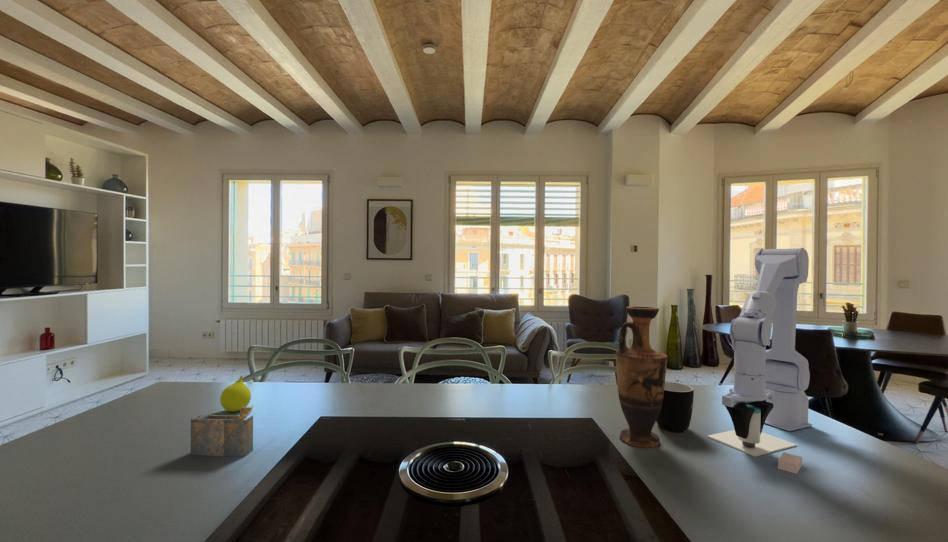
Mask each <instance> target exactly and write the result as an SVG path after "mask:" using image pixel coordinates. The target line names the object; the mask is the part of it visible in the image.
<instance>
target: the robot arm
mask: <svg viewBox="0 0 948 542" xmlns="http://www.w3.org/2000/svg"><path fill="white" fill-rule="evenodd" d="M809 262H810V260H809V253H808V251H807V250H806V249H805V247H799V248H766V249H765V248H759V249H758V250H757V251H756V253H755V255H754V268H755V269H756V272H757V274H758V278H757V283H756V287H755V291H752V292H750V293H748V294H747V296H746V299H745V302H744V304H743V306H742V309H741V311H740V314H739V316H737V317H736V318H733V319H732V320H731V323H730V327H729V337H730V340H731V349H732V351H733V359H734V360H733V387H732V388H729V392H728V393H726V394H723V395H721V398H722V399H721V405H723V406H724V407H725V409H726V411H727V412H728V414H729V416H730V418H731V422H732V424H733V430H735V433H736V436H739V437H741V438H744V439H746V438H747V437H748V434H749V425H750V420H751V417H752V415H753V413H754V411H755V409H753V408H749V407H747V405H752V406H756V407H758V408H760V409H761V422H760V435H761V432H763V429H764V425H765V424H766V425H769V426H772V427H776V428H778V429H780V430H784V431H787V432H792V431H796V430H800V429H804V428H809V427H810V428H811V427H813V424H812V423H810V422H809V397H808V395H807V394H806V392H805V391H806V390H808V387H809V384H810V378H811V374H810V368H809V366H810V365H809V362H808V361H809V360H808V359H807V358H806V357H805V356H803V354H801V353H799V352H798V351H797V350H796V335H797V334H796V333H797V332H796V331H797V330H796V329H797V308H798V291H799V288H800V285H802V284H804V283H806V282H807V281H808V277H809V265H810V264H809ZM771 335H772V336H771ZM770 341H771V348H770V349H768V350H766V349H767V346H768V345H769V344H770Z"/></svg>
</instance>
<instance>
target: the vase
mask: <svg viewBox="0 0 948 542" xmlns="http://www.w3.org/2000/svg"><path fill="white" fill-rule="evenodd" d="M625 309H626V312H627V314H628V316H629V317H631V319H632V321H625V322H624V323H623V324H622V326H621V328H620V331H619V336H618V346H617V349H616V351H615V359H616V382H617V383H616V384H617V394H618V399H619V403H620V408H621V410H622V413H623V415H624V418H625V421H626V423H627V425H628V427H629V428H625V429H622V430H621V431H620V433H619V439H620V440H621V441H623V442H625V444H627V445H630V446H633V447H634V446H635V447H638V448H655V447H657V446H659V445H660V444H661V443H660V442H661V441H660V437H659V435H658V434H656V433H654V432H653V431H652V430H653V428H654V425H655V424H656V423H657V422H656V420H657V418H658V416H659V413H660V410H661V407H662V402H663V396H664V387H665V382H666V375H667V364H668V358H669V356H668V355H667V354H665V353H663V352H660V351H656V350H654V349H653V347H651V343H650V325H651V321H652V320H653V319H655V318H656V317H657V315H658V313H659V311H660V308H658V307H651V306H636V305H635V306H634V305H633V306H626V307H625ZM627 328H630V330H631V332H632V343H631V346H630V347H628V346H627V342H626V331H627Z"/></svg>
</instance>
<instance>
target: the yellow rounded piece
mask: <svg viewBox="0 0 948 542" xmlns="http://www.w3.org/2000/svg"><path fill="white" fill-rule="evenodd" d="M243 373H244V371H242V375H240V376H239V378H238V380H237V381H236V382H234V383H231V384H230V385H229V386H227V387H226V388H224V390H222V391H221V394H220V398H219V402H220V405H221V407H222V408H223V409H224V410H225V411H227V412H230V413H236V412H237V413H238V412H240V408H242V407H243V405H244V407H248V405H249V404H250V402H251V399H252V393H251V390H250V389H249V387H248V386H247V385H246V384H245V383H244V382H243V381H244V380H243V377H244V375H243Z"/></svg>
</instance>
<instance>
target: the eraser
mask: <svg viewBox="0 0 948 542" xmlns="http://www.w3.org/2000/svg"><path fill="white" fill-rule="evenodd" d="M802 466H803V456H800V455H797V454H793V453H789V452H785V451H783V452H782V453H781V455H780V457H779V458H778V460H777V469H779V470H782V471H786V472H789V473H793V474H795V475H796V474H798V473H799V471H800V469H801V468H802Z"/></svg>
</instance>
